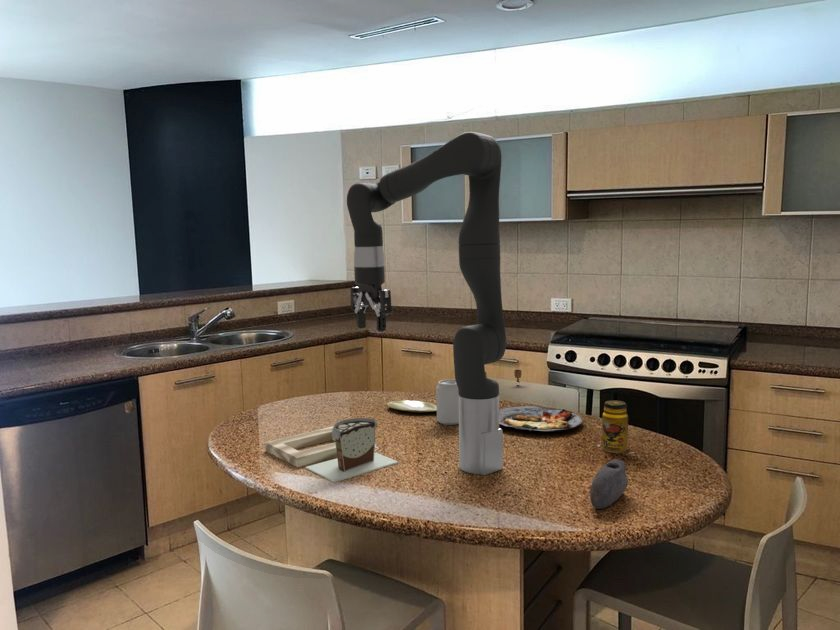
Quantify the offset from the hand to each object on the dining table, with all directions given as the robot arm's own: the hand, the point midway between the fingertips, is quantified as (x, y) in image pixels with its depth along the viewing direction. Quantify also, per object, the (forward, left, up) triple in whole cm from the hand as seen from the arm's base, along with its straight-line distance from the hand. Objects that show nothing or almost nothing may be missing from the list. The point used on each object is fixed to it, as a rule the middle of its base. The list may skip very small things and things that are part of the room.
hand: (371, 329), depth 169 cm
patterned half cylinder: (-8, +13, -30) cm, 34 cm away
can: (+2, -28, -30) cm, 41 cm away
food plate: (-16, -44, -31) cm, 56 cm away
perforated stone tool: (-61, -13, -30) cm, 69 cm away
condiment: (-43, -42, -30) cm, 67 cm away
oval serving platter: (+11, -32, -30) cm, 45 cm away
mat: (-9, +13, -30) cm, 34 cm away
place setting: (+27, -68, -31) cm, 79 cm away
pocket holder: (+7, +13, -30) cm, 34 cm away
